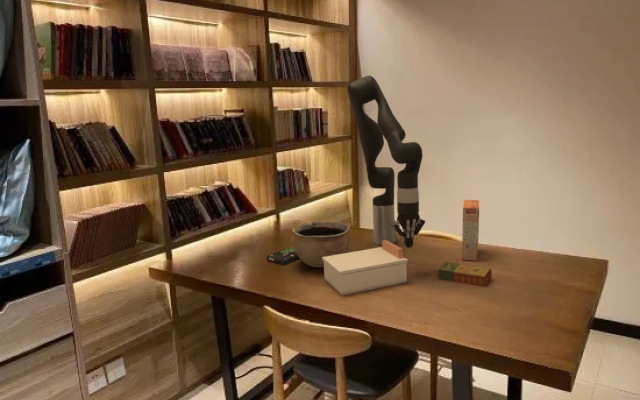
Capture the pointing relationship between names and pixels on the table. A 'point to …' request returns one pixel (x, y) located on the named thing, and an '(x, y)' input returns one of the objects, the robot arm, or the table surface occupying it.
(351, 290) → the box
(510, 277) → the table surface
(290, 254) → the disk drive
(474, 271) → the carton
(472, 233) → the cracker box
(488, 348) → the table surface
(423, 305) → the table surface
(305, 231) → the ceramic bowl
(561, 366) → the table surface
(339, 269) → the lid
